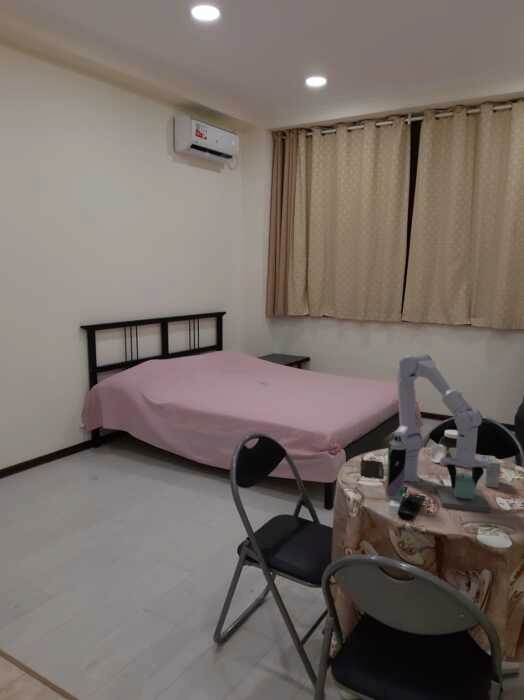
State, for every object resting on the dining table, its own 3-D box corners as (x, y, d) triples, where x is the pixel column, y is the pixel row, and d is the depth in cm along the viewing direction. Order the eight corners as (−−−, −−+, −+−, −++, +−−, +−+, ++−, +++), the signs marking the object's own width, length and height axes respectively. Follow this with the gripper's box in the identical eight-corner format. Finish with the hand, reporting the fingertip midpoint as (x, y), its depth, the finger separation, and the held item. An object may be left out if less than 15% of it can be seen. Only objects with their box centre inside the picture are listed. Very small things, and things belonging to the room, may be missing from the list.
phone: (382, 461, 191) (382, 476, 176) (381, 464, 191) (382, 479, 177) (360, 459, 193) (359, 474, 178) (360, 462, 193) (359, 477, 178)
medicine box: (498, 488, 171) (501, 463, 170) (484, 487, 172) (487, 462, 170) (493, 479, 178) (495, 455, 177) (479, 478, 179) (481, 454, 178)
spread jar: (468, 462, 195) (471, 433, 193) (457, 470, 186) (460, 439, 185) (438, 454, 203) (440, 426, 201) (426, 461, 194) (428, 432, 193)
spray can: (393, 500, 159) (397, 439, 156) (381, 493, 164) (385, 434, 161) (406, 497, 162) (410, 437, 159) (394, 491, 167) (398, 432, 164)
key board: (441, 507, 155) (443, 491, 155) (435, 488, 169) (436, 474, 168) (490, 512, 153) (491, 496, 152) (480, 493, 166) (481, 478, 166)
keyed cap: (455, 496, 157) (456, 481, 157) (451, 486, 165) (452, 471, 164) (473, 498, 156) (475, 482, 155) (468, 488, 164) (470, 473, 163)
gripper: (443, 449, 156) (440, 491, 158) (494, 453, 153) (490, 496, 155) (440, 442, 163) (437, 482, 165) (488, 446, 160) (484, 486, 162)
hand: (462, 488), depth 160 cm, fingers closed on keyed cap, 5 cm apart
